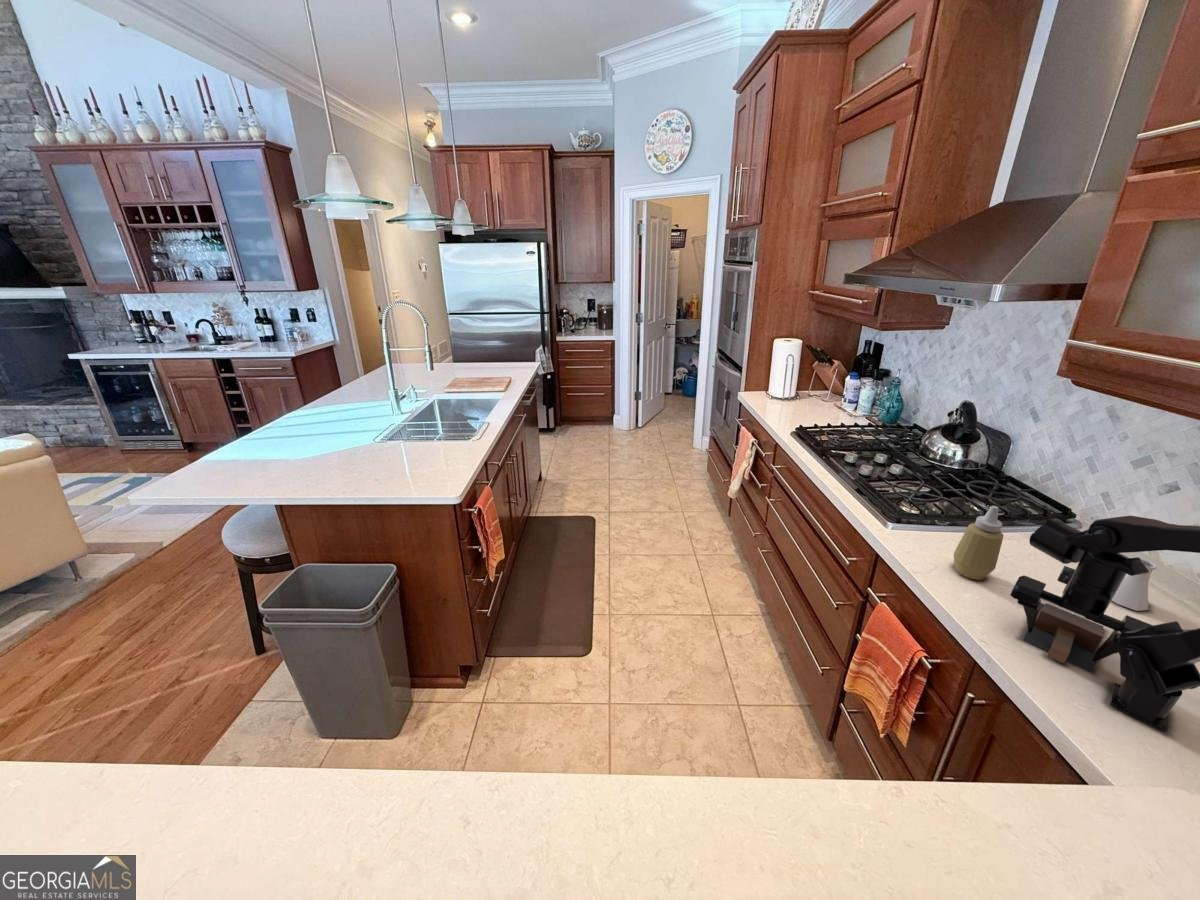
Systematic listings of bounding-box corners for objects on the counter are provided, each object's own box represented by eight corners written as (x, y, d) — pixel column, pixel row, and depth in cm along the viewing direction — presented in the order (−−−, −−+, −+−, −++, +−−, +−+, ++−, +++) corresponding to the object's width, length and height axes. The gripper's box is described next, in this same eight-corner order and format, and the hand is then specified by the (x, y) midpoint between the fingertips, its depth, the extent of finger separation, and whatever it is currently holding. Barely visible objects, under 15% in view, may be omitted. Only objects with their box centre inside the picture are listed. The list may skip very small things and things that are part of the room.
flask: (1110, 585, 108) (1130, 549, 104) (1155, 605, 102) (1178, 568, 98) (1095, 594, 105) (1115, 557, 101) (1140, 615, 99) (1163, 577, 95)
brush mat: (1092, 672, 86) (1093, 671, 86) (1022, 640, 93) (1023, 638, 93) (1103, 630, 95) (1103, 628, 95) (1039, 603, 102) (1039, 602, 102)
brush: (1088, 675, 85) (1097, 659, 83) (1024, 645, 91) (1032, 630, 89) (1097, 640, 92) (1106, 625, 91) (1038, 615, 98) (1045, 600, 97)
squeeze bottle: (955, 557, 117) (979, 494, 110) (995, 574, 111) (1023, 508, 104) (943, 570, 112) (967, 505, 105) (984, 588, 107) (1012, 520, 99)
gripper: (1175, 587, 82) (1134, 653, 88) (1037, 539, 95) (1009, 600, 101) (1173, 617, 75) (1129, 686, 82) (1025, 561, 88) (996, 625, 95)
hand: (1060, 645), depth 90 cm, fingers open, 9 cm apart
